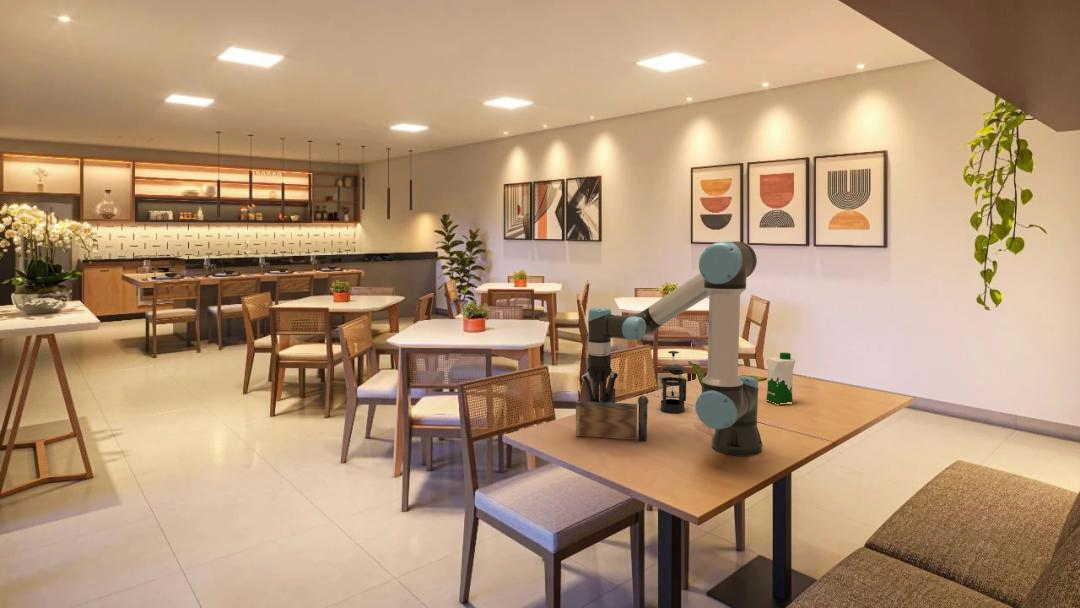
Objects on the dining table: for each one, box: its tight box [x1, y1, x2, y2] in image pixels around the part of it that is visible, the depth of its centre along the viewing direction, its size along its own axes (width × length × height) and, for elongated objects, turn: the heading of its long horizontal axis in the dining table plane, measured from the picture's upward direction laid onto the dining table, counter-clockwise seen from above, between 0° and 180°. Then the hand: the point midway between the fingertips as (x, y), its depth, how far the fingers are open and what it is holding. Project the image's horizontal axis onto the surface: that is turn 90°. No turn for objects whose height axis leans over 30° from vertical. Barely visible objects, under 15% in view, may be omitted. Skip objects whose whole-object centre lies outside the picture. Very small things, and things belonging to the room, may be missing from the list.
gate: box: [575, 400, 638, 440], centre depth 206 cm, size 20×2×11 cm, turn 77°
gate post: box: [637, 395, 649, 443], centre depth 203 cm, size 3×3×15 cm
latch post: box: [606, 387, 616, 403], centre depth 225 cm, size 2×3×12 cm, turn 110°
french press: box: [659, 350, 687, 415], centre depth 238 cm, size 12×9×23 cm
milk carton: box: [765, 352, 796, 404], centre depth 248 cm, size 9×9×20 cm
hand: (599, 422), depth 211 cm, fingers closed
